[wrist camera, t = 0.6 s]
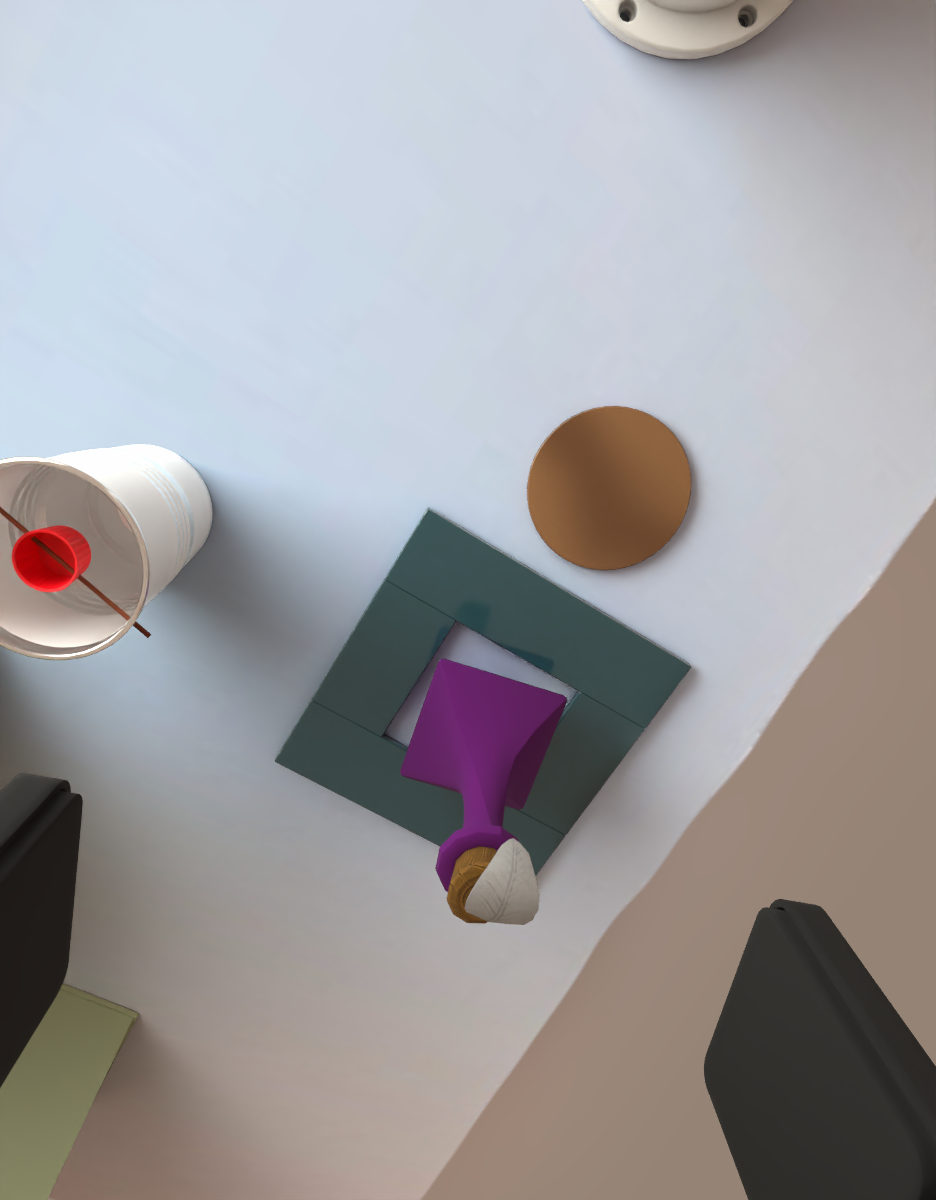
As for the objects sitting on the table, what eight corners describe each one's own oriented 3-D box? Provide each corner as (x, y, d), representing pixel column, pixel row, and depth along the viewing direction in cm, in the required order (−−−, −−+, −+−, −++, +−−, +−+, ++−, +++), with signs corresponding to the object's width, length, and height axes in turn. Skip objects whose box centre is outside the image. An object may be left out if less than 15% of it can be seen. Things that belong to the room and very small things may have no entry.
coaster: (586, 372, 42) (587, 373, 41) (721, 462, 43) (724, 463, 43) (496, 516, 44) (496, 518, 43) (627, 596, 45) (629, 598, 45)
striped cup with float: (269, 518, 44) (205, 576, 32) (170, 620, 45) (76, 711, 34) (125, 384, 41) (2, 396, 30) (26, 497, 43) (-127, 549, 31)
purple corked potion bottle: (517, 781, 49) (556, 1014, 32) (401, 747, 48) (376, 968, 31) (560, 674, 47) (626, 861, 29) (440, 637, 46) (436, 808, 29)
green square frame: (428, 506, 44) (427, 508, 43) (688, 663, 47) (691, 667, 46) (276, 757, 48) (274, 762, 47) (524, 884, 51) (525, 890, 51)
